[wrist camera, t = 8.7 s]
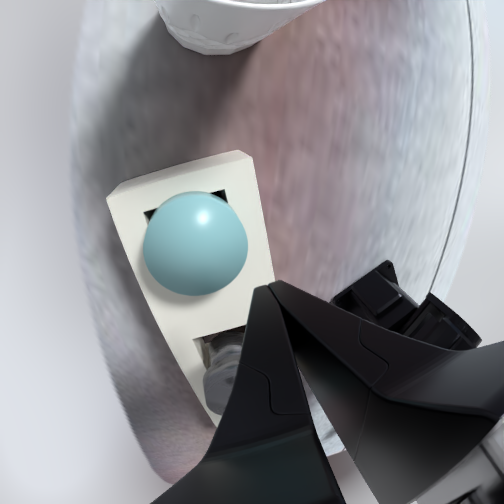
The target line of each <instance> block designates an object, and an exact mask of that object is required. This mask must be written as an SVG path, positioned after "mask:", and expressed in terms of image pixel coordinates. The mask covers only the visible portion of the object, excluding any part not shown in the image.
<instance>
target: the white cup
mask: <svg viewBox="0 0 504 504" xmlns="http://www.w3.org/2000/svg"><path fill="white" fill-rule="evenodd" d="M325 1H327V0H154V2H155V4H156V6H157V9H158V11H159V13H160V15H161V17H162V19H163V20H164V22H165V24H166V27H167V30H168V32H169V33H170V34H171V35H172V36H173V37H174V38H175V39H176V40H177V41H178V42H179V43H180V44H181V45H182V46H183V47H185V48H188V49H190V50H193V51H196V52H198V53H201V54H204V55H230V54H233V53H235V52H238V51H240V50H243V49H245V48H248V47H251V46H252V45H254V44H255V43H256V42H258V41H260V40H261V39H263V38H265V37H267V36H269V35H270V34H272V33H273V32H275V31H277V30H278V29H280V28H282V27H283V26H285V25H286V24H288V23H289V22H291V21H293V20H294V19H296V18H297V17H299V16H300V15H302V14H304V13H305V12H307V11H309V10H310V9H312V8H314V7H316V6H317V5H319V4H321V3H323V2H325Z"/></svg>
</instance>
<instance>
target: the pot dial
mask: <svg viewBox="0 0 504 504" xmlns="http://www.w3.org/2000/svg"><path fill="white" fill-rule="evenodd" d="M243 338H244V333H242V332H238V331H228V332H224V333H221V334H219V335H217V336H216V337H214V338H213V339H212V341H211V342H210V344H209V347H208V352H209V358H210V364H211V366H210V367H209V368H208V369H207V371H206V372H205V374H204V376H203V388H204V394H205V401H206V405H207V407H208V408H209V409H210V410H211V411H212V412H214V413H216V414H218V415H221V416H222V414H223V412H224V409H225V407H226V404H227V401H228V399H229V396H230V393H231V390H232V386H233V383H234V379H235V375H236V370H237V366H238V364H239V357H240V352H241V347H242V343H243Z"/></svg>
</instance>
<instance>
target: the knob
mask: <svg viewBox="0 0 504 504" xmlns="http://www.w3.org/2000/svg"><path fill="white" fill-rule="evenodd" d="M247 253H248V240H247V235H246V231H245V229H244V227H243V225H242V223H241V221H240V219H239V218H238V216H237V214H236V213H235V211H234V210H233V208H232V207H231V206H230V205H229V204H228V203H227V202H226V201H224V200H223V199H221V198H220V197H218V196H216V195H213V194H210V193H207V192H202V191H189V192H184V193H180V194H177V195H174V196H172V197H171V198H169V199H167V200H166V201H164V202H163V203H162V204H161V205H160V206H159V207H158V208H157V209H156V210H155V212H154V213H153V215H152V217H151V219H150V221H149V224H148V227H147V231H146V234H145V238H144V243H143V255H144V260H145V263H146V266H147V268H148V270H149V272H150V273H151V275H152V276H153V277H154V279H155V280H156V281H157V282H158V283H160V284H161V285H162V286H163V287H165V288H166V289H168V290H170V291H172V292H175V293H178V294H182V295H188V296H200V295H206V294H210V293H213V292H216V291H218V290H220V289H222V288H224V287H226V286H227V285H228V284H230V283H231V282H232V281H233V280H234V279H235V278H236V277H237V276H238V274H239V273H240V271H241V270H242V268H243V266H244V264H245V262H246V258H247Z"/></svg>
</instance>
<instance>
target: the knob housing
mask: <svg viewBox="0 0 504 504" xmlns="http://www.w3.org/2000/svg"><path fill="white" fill-rule="evenodd" d="M219 190H220V193H221V197H222V199H223V200H224V201H226V202H227V203H228V204H229V205H230V206H231V207H232V208H233V210H234V211H235V213H236V214H237V216H238V218H239V219H240V221H241V223H242V225H243V227H244V229H245V231H246V235H247V240H248V253H247V258H246V262H245V264H244V266H243V268H242V270H241V271H240V273H239V274H238V276H237V277H236V278H235V279H234V280H233V281H232V282H231V283H230V284H228V285H227V286H226V287H224V288H222V289H220V290H218V291H216V292H213V293H210V294H206V295H200V296H188V295H182V294H178V293H175V292H172V291H170V290H168V289H166V288H165V287H163V286H162V285H161V284H160V283H158V282H157V281H156V280H155V279H154V277H153V276H152V275H151V273H150V272H149V270H148V268H147V266H146V263H145V260H144V255H143V243H144V238H145V234H146V231H147V227H148V224H149V221H150V219H151V217H152V215H153V213H154V212H155V210H156V209H155V208H158V207H159V206H160V205H161V204H162V203H163V202H164V201H166V200H167V199H169V198H171V197H172V196H174V195H177V194H180V193H184V192H189V191H202V192H207V193H211V192H215V191H219ZM106 200H107V203H108V206H109V209H110V212H111V215H112V218H113V220H114V223H115V226H116V229H117V231H118V234H119V237H120V239H121V242H122V244H123V247H124V249H125V252H126V254H127V257H128V259H129V262H130V264H131V267H132V269H133V271H134V274H135V276H136V278H137V281H138V283H139V285H140V287H141V290H142V292H143V294H144V296H145V299H146V301H147V303H148V305H149V307H150V309H151V311H152V313H153V316H154V318H155V320H156V322H157V324H158V326H159V328H160V330H161V332H162V334H163V336H164V338H165V340H166V342H167V344H168V345H169V347H170V349H171V351H172V353H173V355H174V357H175V359H176V360H177V362H178V364H179V366H180V368H181V370H182V371H183V373H184V375H185V377H186V378H187V380H188V382H189V384H190V385H191V387H192V389H193V390H194V392H195V394H196V396H197V397H198V399H199V400H200V402H201V404H202V405H203V407H204V409H205V410H206V412H207V413H208V415H209V417H210V418H211V420H212V421H213V423H214V424H215V426H216V427H218V424H219V422H220V419H221V417H222V416H221V415H218V414H216V413H214V412H212V411H211V410H210V409H209V408H208V407H207V405H206V401H205V394H204V388H203V376H204V374H205V372H206V371H207V369H208V368H209V367H210V366H211V364H210V358H209V352H208V347H209V344H210V343H206V344H205V343H204V340H203V338H202V336H206V335H210V334H214V333H217V332H221V331H225V330H228V329H232V328H235V327H239V326H242V325H246V324H247V319H248V314H249V309H250V304H251V299H252V294H253V290H254V288H255V287H258V286H262V285H268V284H269V283H271V282H274V281H275V279H274V273H273V267H272V262H271V256H270V251H269V245H268V240H267V234H266V229H265V223H264V218H263V212H262V207H261V202H260V196H259V191H258V186H257V181H256V176H255V170H254V165H253V160H252V157H250V156H249V155H247V154H245V153H243V152H241V151H240V150H234V151H230V152H226V153H221V154H217V155H213V156H209V157H205V158H201V159H197V160H194V161H190V162H186V163H183V164H179V165H175V166H172V167H168V168H165V169H162V170H158V171H155V172H152V173H149V174H145V175H142V176H139V177H136V178H133V179H130V180H127V181H124V182H121V183H120V184H119V185H118V186H117V187H116V188H115V189H114V190H113V192H112V193H111V194H110V195H109V196H108V197H107V198H106Z"/></svg>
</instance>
